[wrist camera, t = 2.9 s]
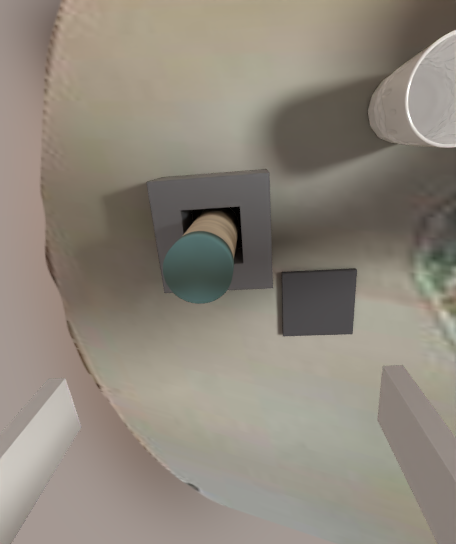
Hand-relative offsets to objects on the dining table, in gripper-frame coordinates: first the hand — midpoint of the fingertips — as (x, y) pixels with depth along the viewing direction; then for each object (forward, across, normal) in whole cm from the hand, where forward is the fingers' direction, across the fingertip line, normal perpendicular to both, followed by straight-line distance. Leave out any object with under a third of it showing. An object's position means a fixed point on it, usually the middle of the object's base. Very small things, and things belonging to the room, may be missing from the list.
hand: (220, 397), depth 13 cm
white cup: (+27, +18, +12) cm, 35 cm away
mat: (+27, +10, -10) cm, 30 cm away
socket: (+27, -2, +2) cm, 27 cm away
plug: (+27, -2, +2) cm, 27 cm away
